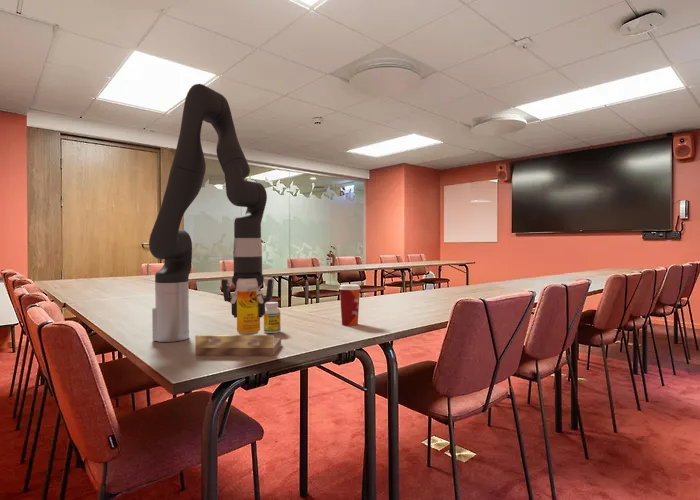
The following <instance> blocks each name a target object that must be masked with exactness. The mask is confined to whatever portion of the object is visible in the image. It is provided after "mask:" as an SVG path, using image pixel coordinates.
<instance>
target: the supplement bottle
mask: <svg viewBox="0 0 700 500" xmlns="http://www.w3.org/2000/svg"><path fill="white" fill-rule="evenodd" d="M278 307H279V302H278V301H267V302H266V303H265V314H264V315H263V332H265V333H264V334H267V333H275V334H279V333H280V332H281V309H280V308H278ZM278 332H279V333H278Z"/></svg>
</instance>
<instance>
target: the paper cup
mask: <svg viewBox="0 0 700 500" xmlns="http://www.w3.org/2000/svg"><path fill="white" fill-rule="evenodd" d="M361 289H362V288H361V287H360V284H356V283H353V284H352V283H351V284H350V283H349V284H348V283H346V284H340V285H339V288H338V290H339V295H340V298H339V299H340V300H339V301H340V312H341V313H340V315H341V316H340V317H341V325H342V326H345V327H354V326H358V324H359V311H360V310H359V309H360V308H359V307H360V294H361V293H360V292H361Z"/></svg>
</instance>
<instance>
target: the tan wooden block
mask: <svg viewBox="0 0 700 500" xmlns="http://www.w3.org/2000/svg"><path fill="white" fill-rule="evenodd" d="M274 335H275V334H272V335H271V334H268V335H267V334H266V335H265V334H263V335H261V334H259V335H258V334H255V335H240V334H237V335H235V334H233V335H232V334H228V335H227V334H225V335H224V334H221V335H220V334H197V335H195V336H194V339H195V342H194V343H195V350H194V351H195V354H194V355H195V356H221V357H222V356H229V357H230V356H233V357H234V356H238V357H239V356H244V357H245V356H247V357H248V356H249V357H250V356H259V357H260V356H264V357H265V356H267V357H268V356H270V357H272V356H274V355H275V354H276V353H277V352H278V350H279V349H278V348H280V347H281V346H280V345H282V337H275V336H274ZM275 352H276V353H275Z"/></svg>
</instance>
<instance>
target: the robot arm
mask: <svg viewBox="0 0 700 500" xmlns="http://www.w3.org/2000/svg"><path fill="white" fill-rule="evenodd" d="M231 111H232V110H231V107H230V104H229V102H228V100H227V97H225V96H224V95H223V94H221V93H220V92H218V91H216V90H214V89H213V88H210V87H209V86H207V85H204V84H203V83H194V84H193V85H192V86H191V87H190V88H189V90H188V91H187V93H186V97H185V99H184V104H183V110H182V117H181V125H180V131H179V135H178V140H177V145H176V148H175V152H174V156H173V160H172V163H171V166H170V170H169V175H168V179H167V183H166V187H165V190H164V194H163V198H162V202H161V205H160V208H159V211H158V214H157V217H156V220H155V222H154V225H153V227H152V229H151V233H150V236H149V240H148V248H149V252H150V253H151V255H152V256H153V257H154V258H156V259H158V260H164V263H163V265H162V267H161V269H159V270H158V271H156V273H155V274H154V282H155V283H154V284H155V285H154V292H155V293H154V295H155V297H154V298H155V299H154V300H155V304H154V305H155V306H154V307H152V309H151V310H152V311H151V312H152V314H151V315H152V316H151V317H152V320H151V321H152V326H151V327H152V341H153V342H154V341H155V342H160V343H172V342H180V341H185V340H188V339H190V318H189V317H190V306H189V305H190V303H189V300H190V299H189V298H190V297H189V295H190V294H189V287H190V285H189V279H190V278H189V277H190V274H191V271H192V264H193V263H192V261H193V259H192V258H193V241H192V238H191V235H190V234H189V232H188V231H186V230H185V229H183V228H180V226H181V223H182V220H183V217H184V215H185V213H186V211H187V210H188V209H189V207H190V206H191V205H192V203H193V202H194V201H195V199H196V198H197V197H198V195H199V194H200V191H201V189H202V186H203V182H204V179H205V175H206V169H207V167H206V166H207V165H206V159H205V155H204V151H203V147H202V143H201V133H202V126H203V124H204V123H203V122H206V123H208V124H211V126H212V127H213V129H214V130H215V132H216V134H217V138H218V139H217V143H216V150H215V151H216V155H217V159H218V162H219V164H220V165H219V166H220V168H221V169H222V172H223V174H224V182H225V183H224V184H225V192H226V193H225V194H226V197H227V199H228V201H229V202H230V203H231V204H232V205H233V206H236V207H241V208H246V211H245V214H244V215H241V216H237V217H236V218H235V219H234V220H233V221H234V222H233V225H234V226H233V232H234V233H233V234H234V235H233V237H234V239H233V246H232V247H233V250H232V255H233V276H232V277H231V278H224V279H221V286H222V287H221V289H222V293H223V301H224V302H228V303H230V304H231V315H232V316H233V318H235V319H237V281H238V278H239V279H253V278H256V280H257V282H258V287H260V292H259V291H258V289H257V288H256V296H258V301H259V317H260V318H264V314H265V309H266V303H267V302H271V300H273V293H274V285H275V284H274V283H275V279H274V278H272V277H271V278H267V277H264V275H263V244H262V243H263V242H262V221H263V220H262V219H263V217H264V212H265V209H266V205H267V199H268V194H267V191H266V188H265V186H264V185H263V184H262V183H260V182H257V181H250V180H245V179H246V178H247V177H248V176H249V174H250V172H251V169H250V166H249V163H248V161H247V158H246V157H245V156H246V155H245V154H244V151H243V149H242V147H241V145H240V143H239V139H238V136H237V132H236V128H235V125H234V124H235V123H234V121H233V120H234V119H233V116H232V112H231ZM232 283H233V284H234V286H235V287H236V288H235V290H234V293H233V295H232V294H231V286H232ZM263 283H264V285H265V287H266V293H265V294H266V295H265V296H264V294H263V291H262V289H261V286H262V284H263Z"/></svg>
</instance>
